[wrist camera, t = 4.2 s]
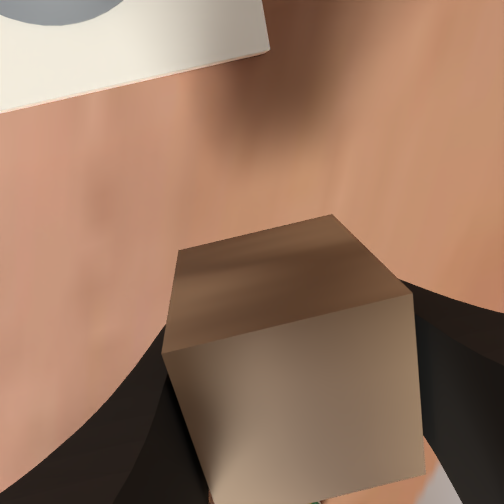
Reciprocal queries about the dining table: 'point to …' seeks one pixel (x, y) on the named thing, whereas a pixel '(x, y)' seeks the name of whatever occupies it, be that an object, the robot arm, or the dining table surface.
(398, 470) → the walnut block
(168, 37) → the base board
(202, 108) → the dining table surface
